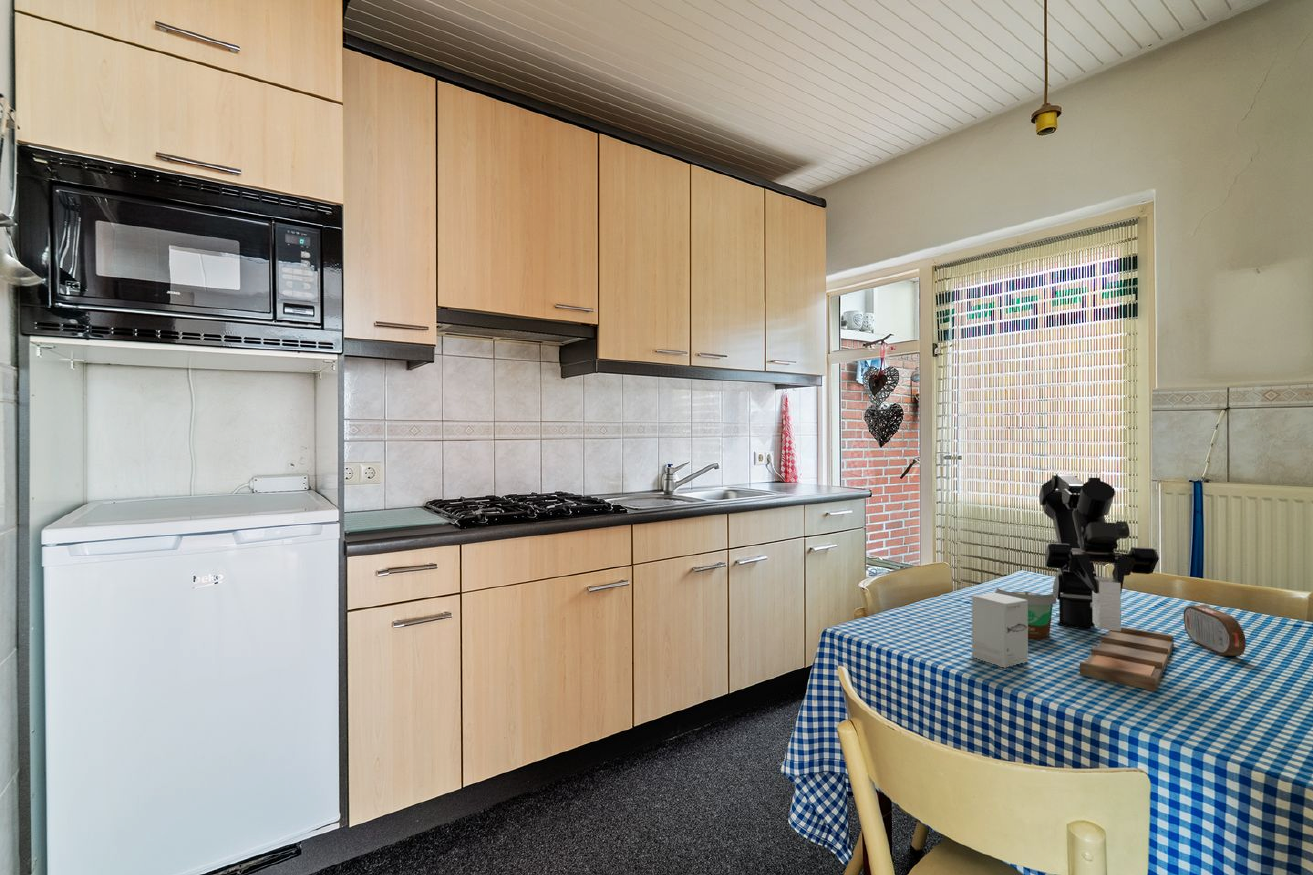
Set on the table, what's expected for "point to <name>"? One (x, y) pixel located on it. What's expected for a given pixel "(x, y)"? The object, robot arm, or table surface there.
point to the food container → (1036, 612)
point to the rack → (1130, 658)
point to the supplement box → (1000, 629)
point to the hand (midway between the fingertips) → (1108, 593)
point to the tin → (1214, 630)
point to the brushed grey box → (1107, 604)
